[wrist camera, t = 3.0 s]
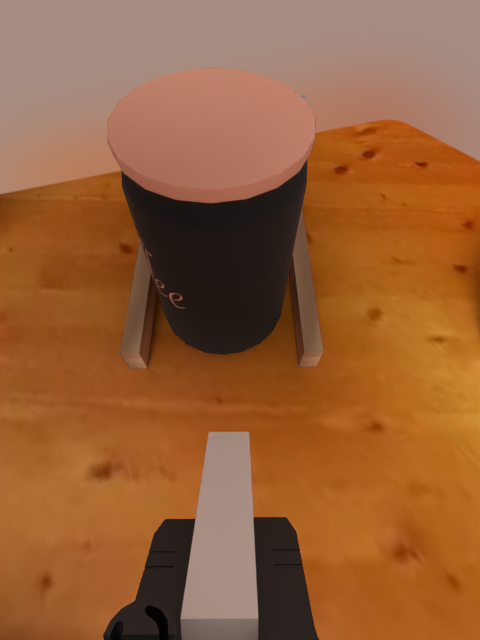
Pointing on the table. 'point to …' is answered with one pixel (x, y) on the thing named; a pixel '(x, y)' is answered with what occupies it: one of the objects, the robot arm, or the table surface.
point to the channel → (302, 297)
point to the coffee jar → (215, 197)
